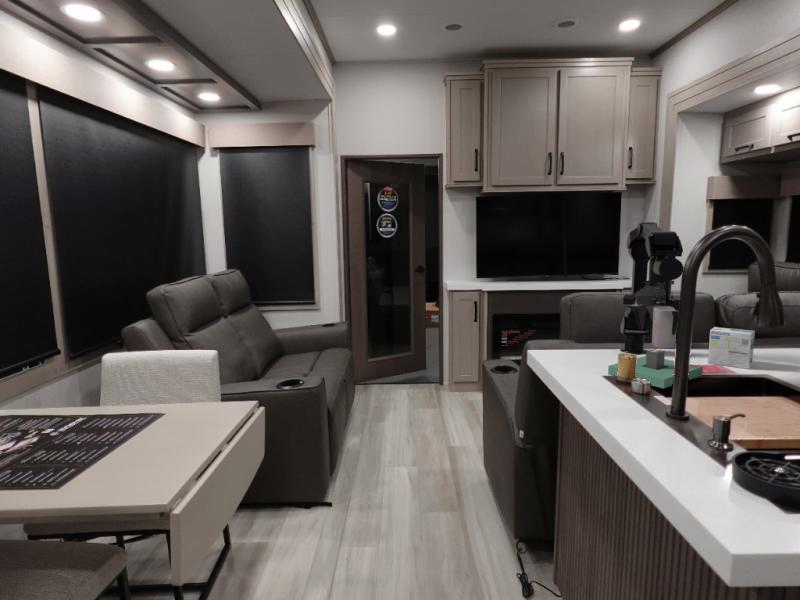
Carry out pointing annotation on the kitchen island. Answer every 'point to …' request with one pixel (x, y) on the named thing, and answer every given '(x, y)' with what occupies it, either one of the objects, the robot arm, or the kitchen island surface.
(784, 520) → the kitchen island surface
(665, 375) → the socket board
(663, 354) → the plug block
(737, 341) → the light bulb box
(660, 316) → the pillar candle
